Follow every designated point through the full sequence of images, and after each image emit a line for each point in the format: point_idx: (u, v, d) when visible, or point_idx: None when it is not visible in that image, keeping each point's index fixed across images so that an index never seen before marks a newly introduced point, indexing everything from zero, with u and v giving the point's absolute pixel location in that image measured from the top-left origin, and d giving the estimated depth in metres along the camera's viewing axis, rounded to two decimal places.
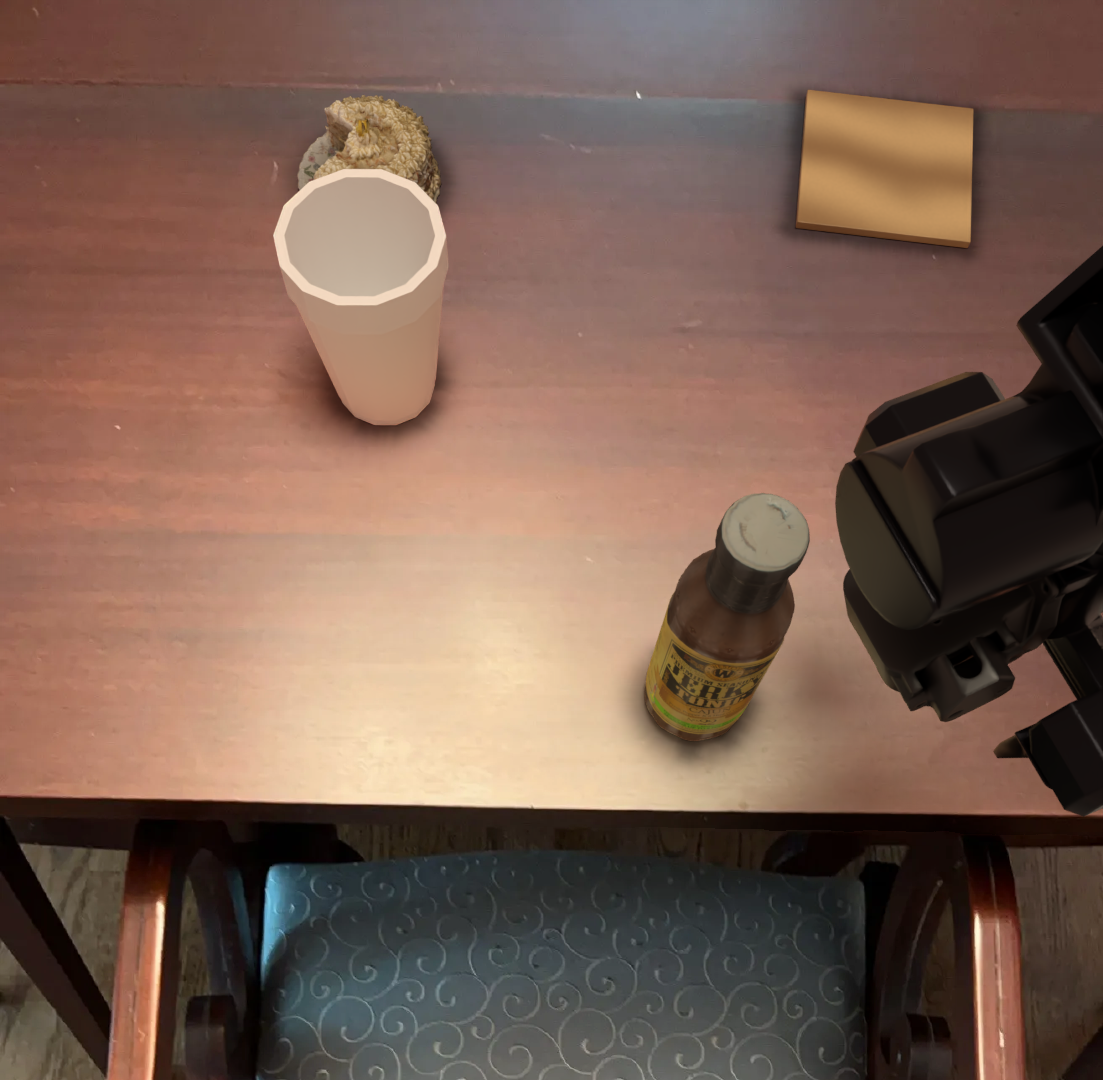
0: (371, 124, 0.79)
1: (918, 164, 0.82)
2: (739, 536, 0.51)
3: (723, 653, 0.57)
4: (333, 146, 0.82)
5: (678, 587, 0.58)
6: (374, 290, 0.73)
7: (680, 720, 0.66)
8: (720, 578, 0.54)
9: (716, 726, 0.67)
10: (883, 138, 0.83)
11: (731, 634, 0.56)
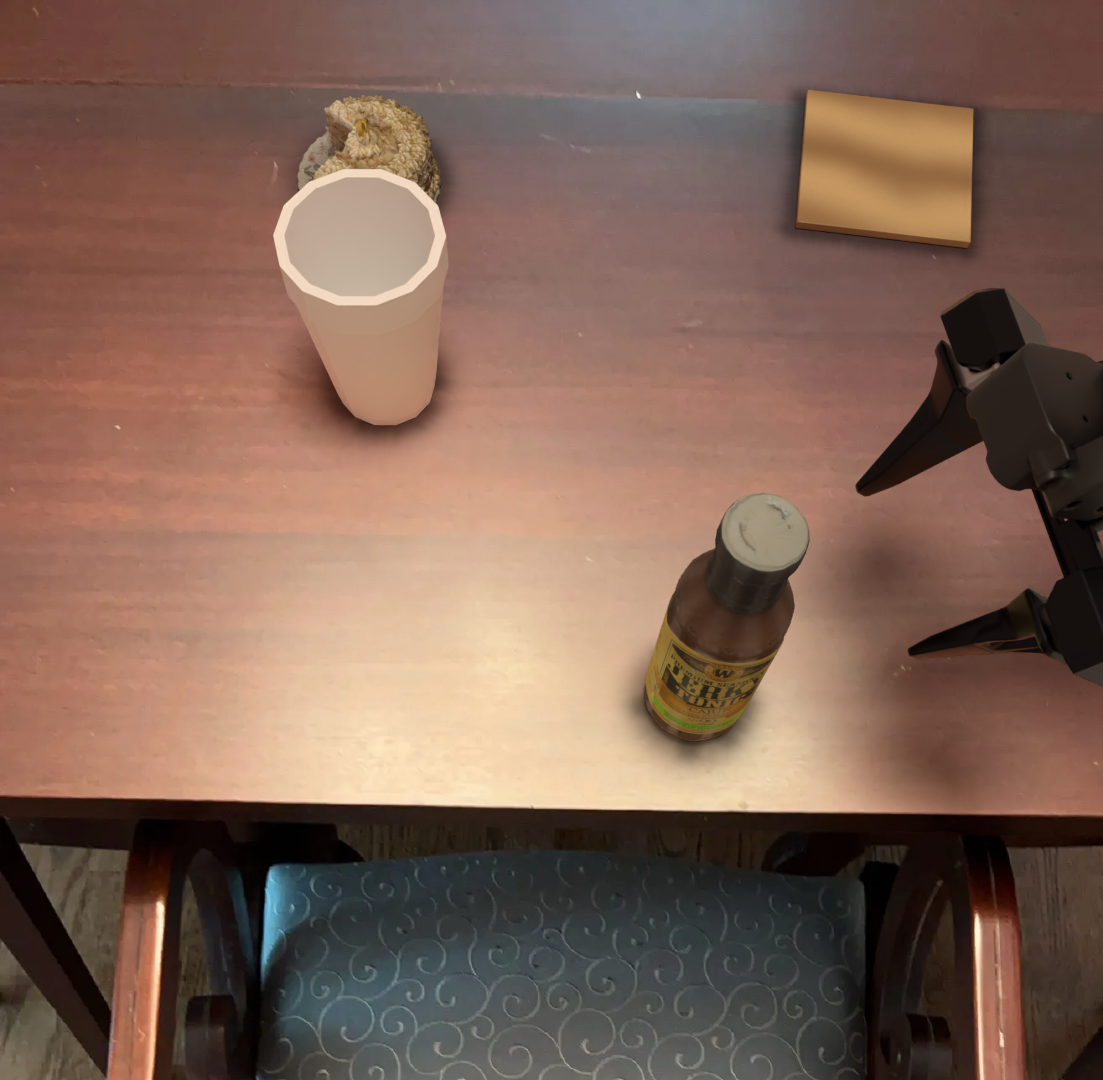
0: (371, 124, 0.79)
1: (918, 164, 0.82)
2: (739, 535, 0.51)
3: (723, 653, 0.57)
4: (333, 146, 0.82)
5: (678, 587, 0.58)
6: (374, 290, 0.73)
7: (680, 720, 0.66)
8: (720, 578, 0.54)
9: (716, 726, 0.67)
10: (883, 138, 0.83)
11: (731, 634, 0.56)
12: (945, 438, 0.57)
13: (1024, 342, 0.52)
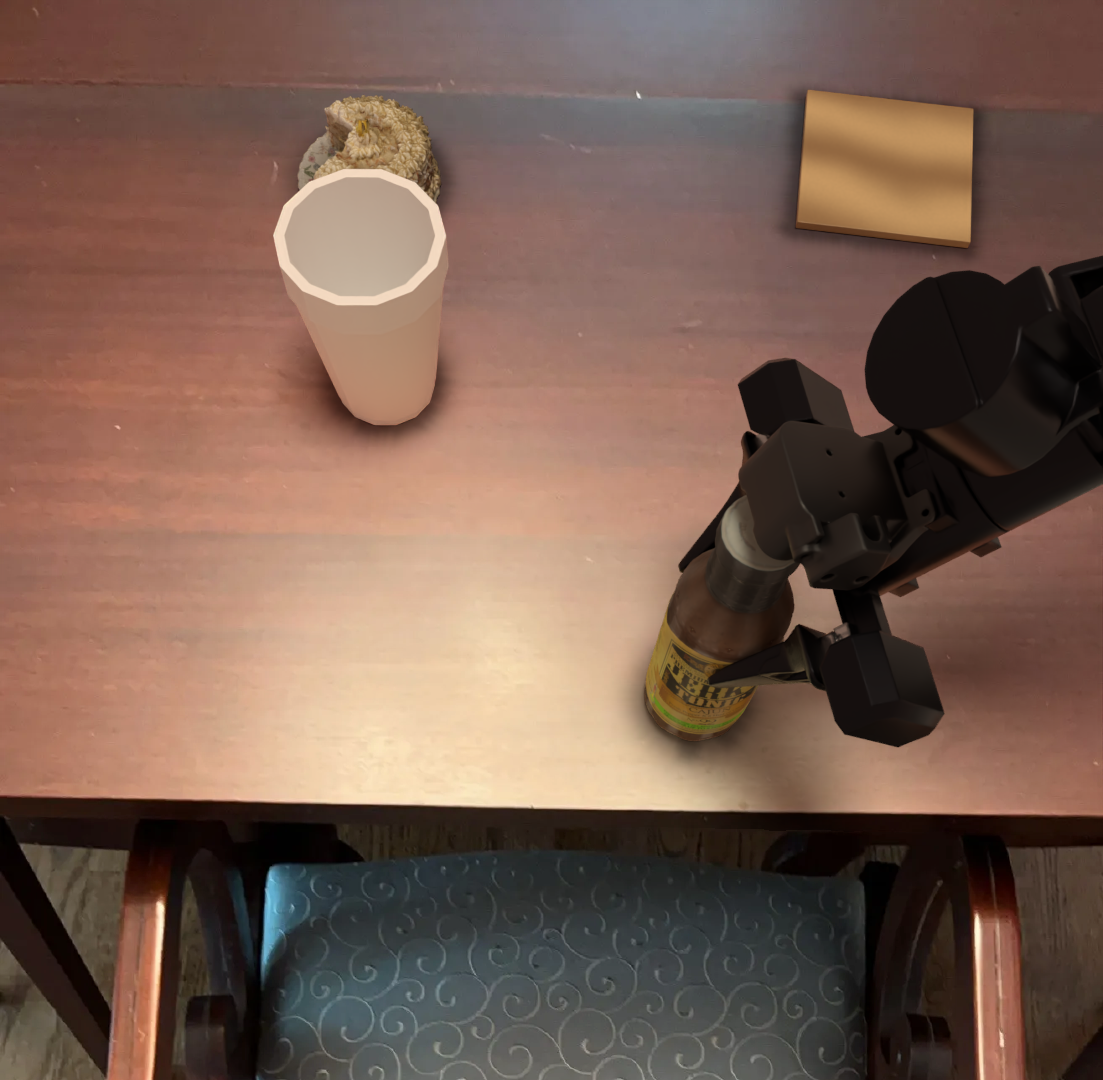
0: (371, 124, 0.79)
1: (918, 164, 0.82)
2: (738, 535, 0.51)
3: (723, 653, 0.57)
4: (333, 146, 0.82)
5: (678, 587, 0.58)
6: (374, 290, 0.73)
7: (680, 720, 0.66)
8: (720, 578, 0.54)
9: (716, 726, 0.67)
10: (883, 138, 0.83)
11: (731, 634, 0.56)
12: None
13: (811, 412, 0.54)
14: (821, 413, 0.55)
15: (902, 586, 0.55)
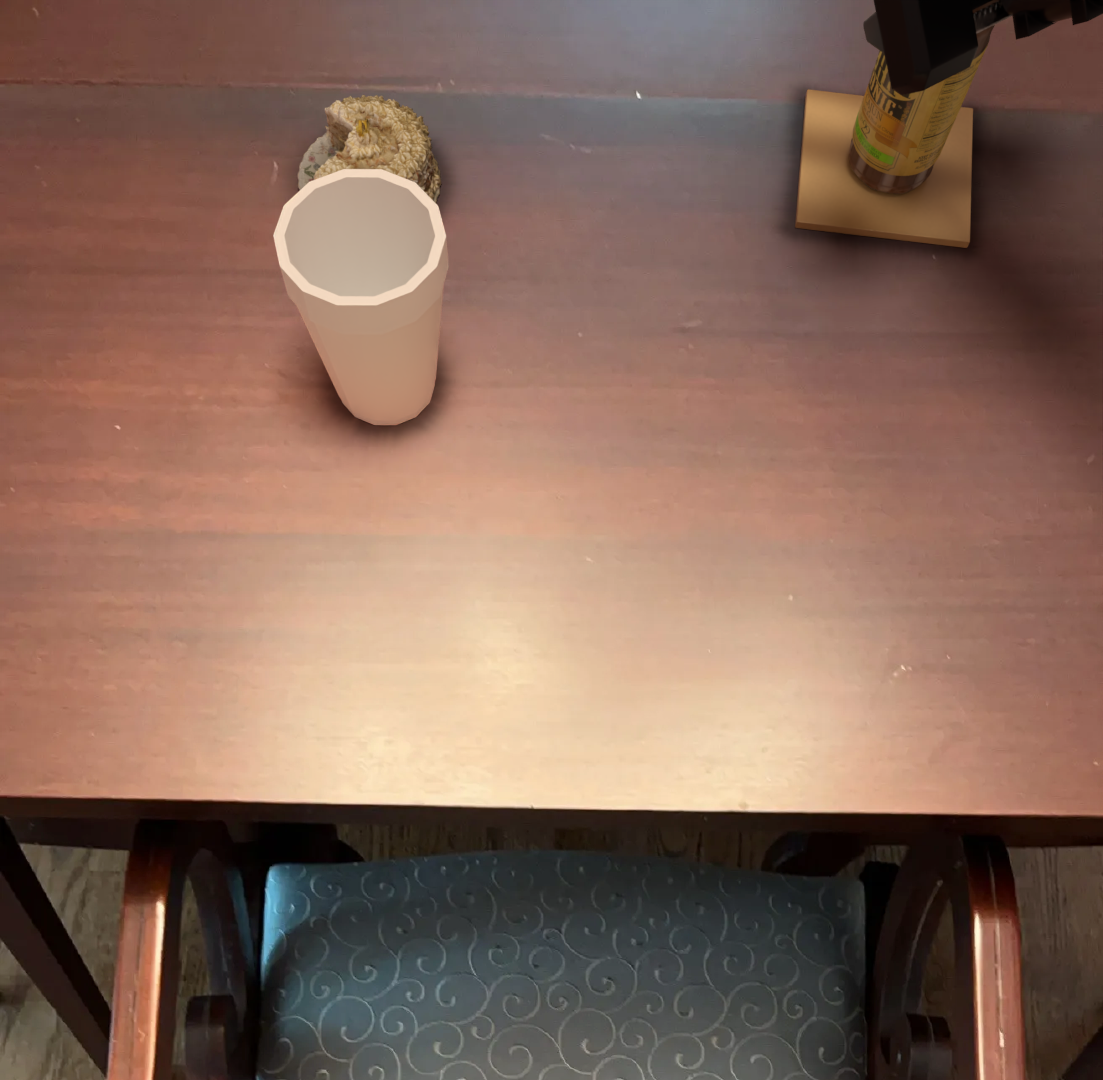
0: (371, 124, 0.79)
1: None
2: None
3: None
4: (333, 146, 0.82)
5: None
6: (374, 290, 0.73)
7: (858, 117, 0.79)
8: None
9: (866, 147, 0.79)
10: None
11: None
12: None
13: None
14: None
15: (1021, 16, 0.64)
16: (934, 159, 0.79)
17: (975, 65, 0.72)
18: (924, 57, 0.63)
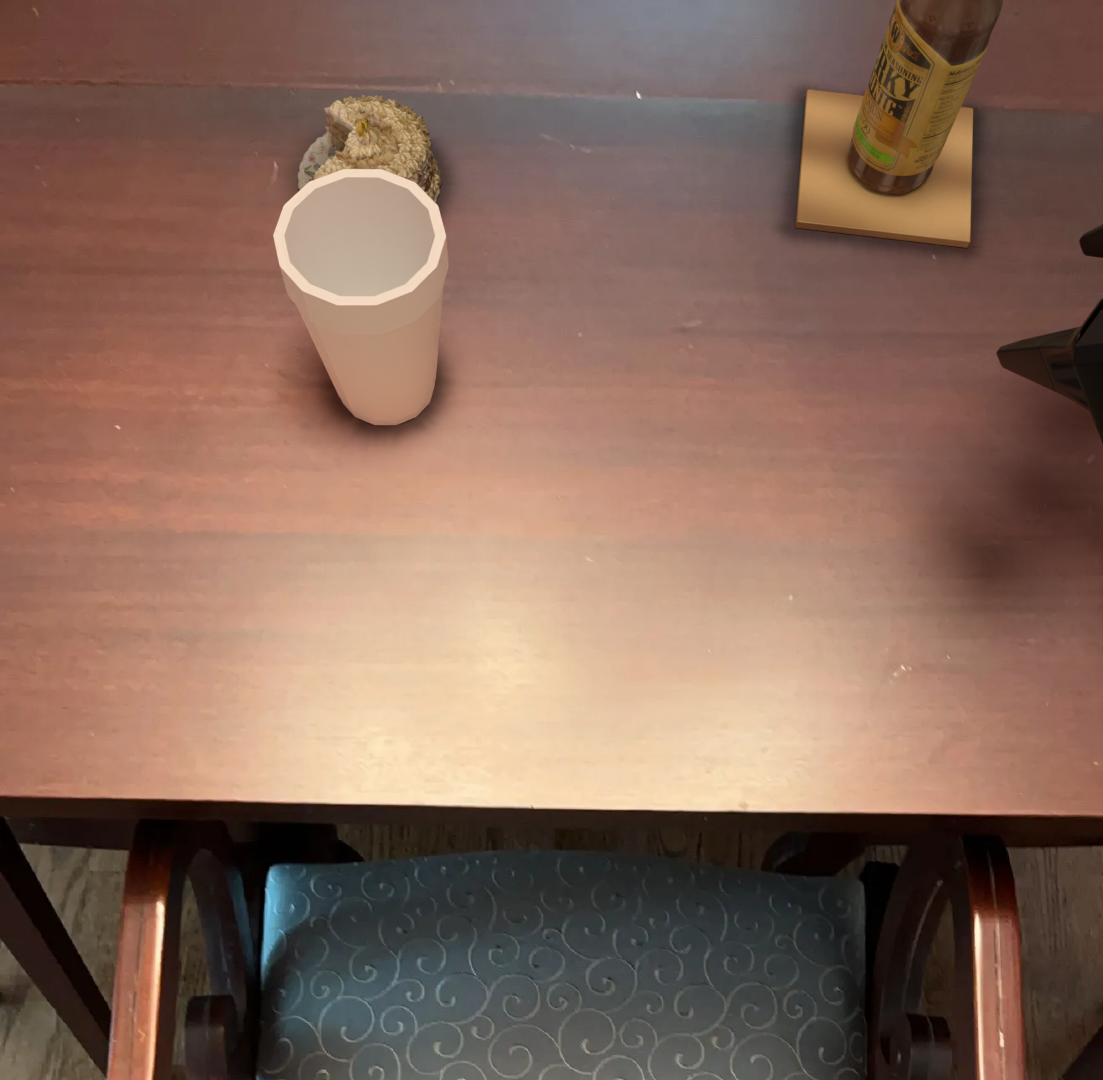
0: (371, 124, 0.79)
1: None
2: None
3: None
4: (333, 146, 0.82)
5: None
6: (374, 290, 0.73)
7: (858, 117, 0.79)
8: None
9: (867, 147, 0.79)
10: None
11: None
12: None
13: None
14: None
15: None
16: (935, 159, 0.79)
17: (975, 65, 0.72)
18: None
